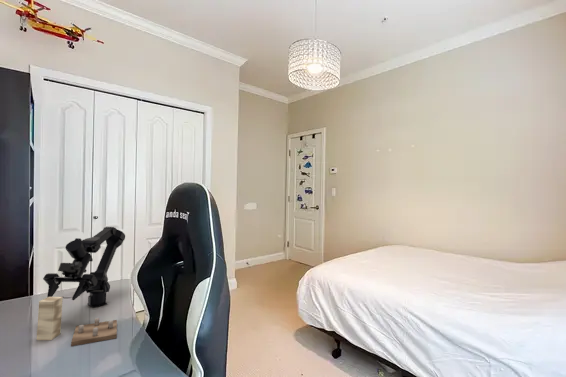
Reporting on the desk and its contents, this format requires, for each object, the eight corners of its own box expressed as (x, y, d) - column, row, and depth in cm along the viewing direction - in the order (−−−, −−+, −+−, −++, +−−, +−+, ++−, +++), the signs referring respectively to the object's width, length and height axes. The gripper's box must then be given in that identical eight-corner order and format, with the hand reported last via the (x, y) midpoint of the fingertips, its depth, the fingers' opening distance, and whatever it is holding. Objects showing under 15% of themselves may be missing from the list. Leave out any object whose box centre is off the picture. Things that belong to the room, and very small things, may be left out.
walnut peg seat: (75, 329, 116) (76, 319, 116) (116, 323, 123) (117, 313, 123) (71, 346, 103) (71, 334, 104) (116, 338, 110) (117, 327, 110)
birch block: (46, 333, 112) (48, 296, 112) (60, 333, 112) (62, 296, 112) (36, 340, 107) (39, 301, 107) (51, 340, 107) (53, 301, 107)
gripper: (47, 253, 120) (24, 289, 109) (95, 254, 122) (77, 289, 110) (59, 268, 128) (39, 303, 116) (104, 269, 129) (88, 303, 118)
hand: (60, 299), depth 115 cm, fingers open, 9 cm apart
